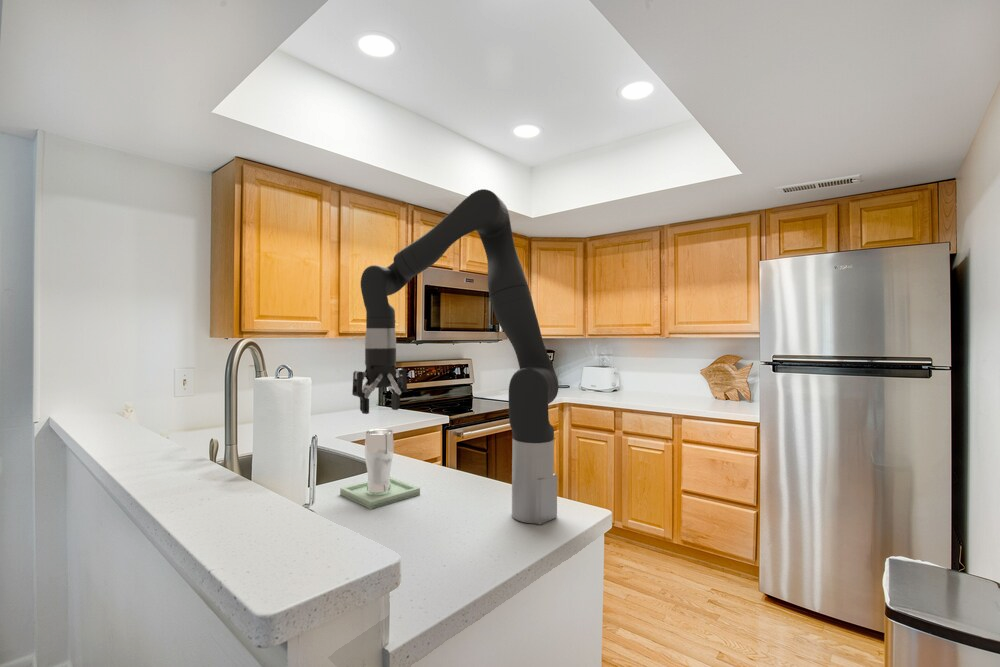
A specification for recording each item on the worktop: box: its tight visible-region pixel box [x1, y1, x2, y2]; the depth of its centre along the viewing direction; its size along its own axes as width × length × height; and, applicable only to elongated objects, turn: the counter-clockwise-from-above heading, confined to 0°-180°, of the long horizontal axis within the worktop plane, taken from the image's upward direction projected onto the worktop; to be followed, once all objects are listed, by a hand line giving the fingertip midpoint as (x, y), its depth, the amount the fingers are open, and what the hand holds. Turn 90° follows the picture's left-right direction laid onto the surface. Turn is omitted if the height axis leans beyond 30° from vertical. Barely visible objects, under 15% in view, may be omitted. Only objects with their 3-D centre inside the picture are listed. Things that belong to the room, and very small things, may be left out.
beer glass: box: [364, 428, 395, 496], centre depth 118 cm, size 7×7×15 cm
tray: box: [339, 476, 421, 510], centre depth 119 cm, size 14×14×2 cm
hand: (380, 411), depth 119 cm, fingers open, 8 cm apart
